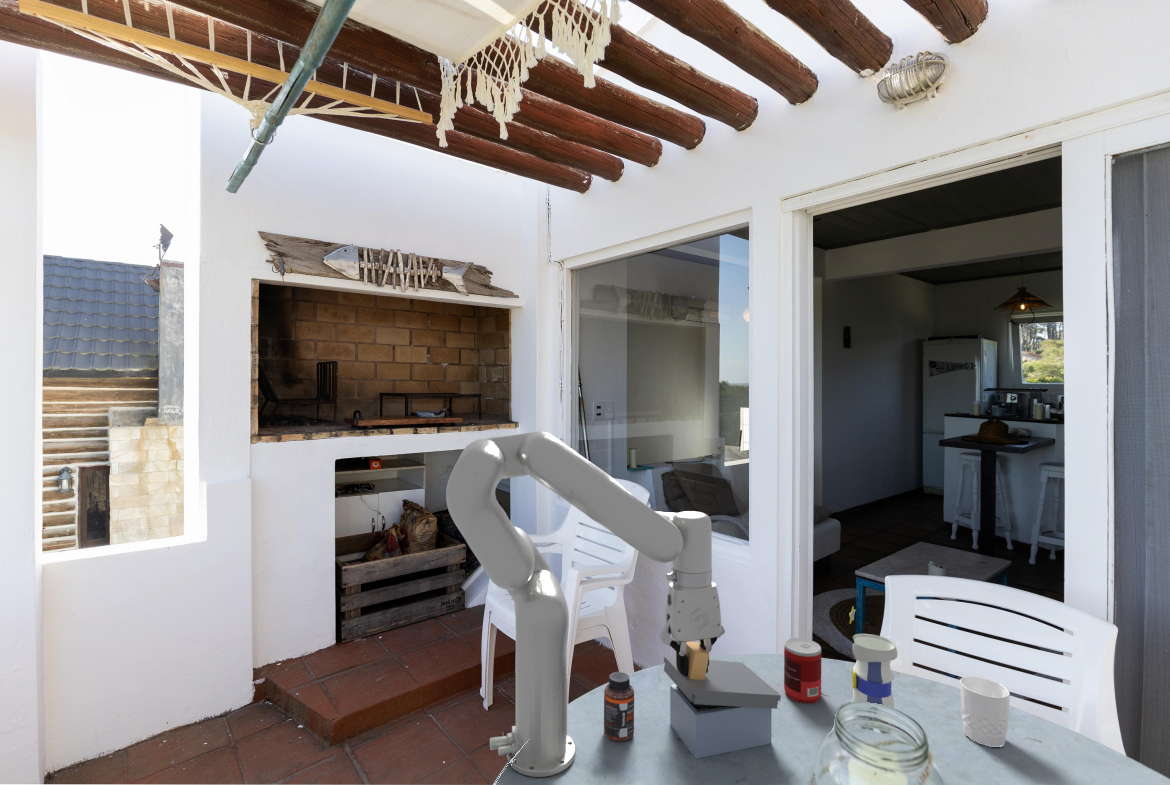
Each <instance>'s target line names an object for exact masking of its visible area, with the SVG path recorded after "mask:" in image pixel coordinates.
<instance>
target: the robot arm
mask: <svg viewBox="0 0 1170 785" xmlns="http://www.w3.org/2000/svg"><path fill="white" fill-rule="evenodd" d="M525 476H530V478H532V479H534V480H535V481H537V482H538V483H540V484H541V485H542V486H544V487H546V488H547V489H549V491H552V492H553V493H555V494H556V495H558V496H559V497H560V498H562V499H564V500H565V501H566V502H568V503H569V504H570V505H572V506H573V507H574V508H576V509H578V510H579V511H580V512H581V513H582V514H585V515H586V516H587V517H588V518H589V519H591V520H592V521H594V522H595V523H597V524H599V525H601V526H602V527H604V528H605V529H606V530H609V531H610V532H611V533H612V534H614V535H615V536H616V537H617V538H619V539H620V540H622V541H623V542H625V543H626V544H627V545H629V546H630V547H632V548H633V549H634V550H636V551H637V552H639V553H641V554H642V555H644V556H645V557H647V558H648V559H650V560H651V561H653V562H655V563H660V564H665V563H666V564H667V563H670V562H672V564H671V566H672V567H671V572H669V573H666V575H665V578H666V580H667V581H668V582H669V581H671V582H670V583H669V586H668V590H667V595H666V602H665V604H666V606H665V614H664V615H665V619H664V620H665V622H664V623H665V624H664V626H663V629H662V631H661V633H660V635H659V636H658V637H659V638H658V639H659V640H660V642H662V644H665V645H666V646H669V647H671V648H672V649H673V650H674V651H675V657H676V666H677V669H678V670H680V671H681V672H682V673H683V674H684V676H688V655H687V654H686V644H687V642H696V641H698V644H699V646H700V647H701V648H702V649H703V650H706V651H707V652H708V653H709V654H710V652H712V648H713V647H714V645H715V643H716V642H717V641H718V639H719V638H721V637H722V636H723V635H724V634H725V632H726V630H725V628H724V627H723V625H722V613H721V612H722V611H721V603H720V598H719V597H720V596H719V593H718V586H717V584H716V583H715V582H714V581H713V579H712V578H713V572H712V571H713V566H712V564H713V555H712V553H713V552H712V550H713V548H712V547H713V546H712V545H713V544H712V540H713V539H712V537H713V536H712V519H711V517H710V516H709V515H708V513H707V514H706V513H704V512H701V511H695V510H692V511H691V510H686V511H685V510H684V511H680V512H665V511H656V510H654V509H652V508H651V507H649V506H648V505H647V504H645V503H644V502H642V500H640V499H638V498H637V497H636V496H635V495H633V494H632V493H631V492H629V491H628V490H627V489H626V488H624V486H622V485H621V484H620V483H619V482H618V481H617V480H616V479H615V478H614V477H612V476H611V475H609V474H608V473H607V472H605V470H602V469H601V468H600V467H599V466H597V465H595V464H594V463H593V462H592V461H590V460H588V459H587V458H585V457H584V456H582V455H581V454H579V453H578V452H577V451H576V450H574V449H573V448H571V447H569V446H568V445H567V444H565V443H564V442H563V441H561V440H560V439H558V438H557V437H555V436H554V435H552V434H551V433H549V432H546V431H543V430H541V431H539V430H538V431H532V432H526V433H520V434H519V433H518V434H512V435H503V436H496V437H487V438H480V439H476V440H474V441H471V442H470V443H469V444H467V445H466V446H465V447H464V448H463V450H462V452H461V453H460V455H459V458H458V459H457V461H456V462H455V464H454V467H453V468H452V471H451V472H450V475H449V478H448V481H447V484H446V492H445V500H446V505H447V506H446V508H447V509H448V512H449V515H450V517H451V519H452V520H453V523H454V525H455V526H456V527H457V529H458V530H459V533H461V535H462V537H463V538H464V540H465V542H466V543H467V545H468V546H469V548H470V550H471V551H472V553H473V554H474V556H475V557H476V559H477V561H478V562H479V564H480V565H481V567H482V568H483V570H484V571H485V573H486V575H487V577H488V578H489V580H490V581H491V583H492V584H494V585H495V586H496V587H498V588H501V589H502V590H506V591H507V592H508V595H509V596H511V599H512V600H513V602H514V615H515V658H514V659H515V660H514V661H515V669H514V670H515V725H512V726H511V732H508V733H506V735H503V736H494V737H490V738H489V748H490V750H491V751H493V750H497V752H498V756H499V757H501V756H505V755H506V758H507V763H508V764H509V762H510V760H511V759H512V758H513V757H514V756H515V754H516V753H517V752H518V751H519V750H520V749H521V748H522V746H523V745H524V744H525V743H526V742H527V741H528V742H527V743H526V744H525V745H524V746H523V748H522V749H521V750H520V752H519V753H518V754H517V755H516V757H515V758H514V759H516V760H515V761H514V759H513V761H514V762H513V763H512V762H511V763H510V764H512V766H510V767H511V768H512V769H513V770H515V771H516V772H517V771H518V772H517V773H519V774H521V775H525V776H528V777H532V778H543V777H545V778H546V777H550V776H554V775H557V774H559V773H561V772H563V771H564V770H566V769H567V768H569V767H570V766H571V764H572V763H573V761H574V760H575V757H576V745H575V742H574V741H573V739H572V738H571V737H570V736H569V735H568V639H569V631H570V630H569V628H570V613H569V607H568V603H567V600H566V599H567V598H566V596H565V595H564V592H563V590H562V587H561V584H560V582H559V580H558V578H557V576H556V575H555V573H554V572H553V570H552V568H550V566H549V564H548V563H547V561H546V560H545V558H544V557H543V554H541V552H540V551H539V549H538V547H537V546H536V545H535V543H534V542H533V540H532V539H531V537H530V536H529V535H528V533H527V532H526V531H524V530H523V529H522V528H520V527H518V526H515V525H514V524H513V523H512V521H511V519H509V517H508V515H507V513H506V512H505V510H504V508H503V507H502V506H501V504H500V503H499V502H498V500H497V496H496V490H497V487H498V485H499V483H500V482H501V480H503V479H504V480H505V479H511V478H518V477H525ZM671 636H672V638H671ZM709 660H710V658H709V659H708V664H707V669H706V673H708V666H709ZM529 739H530V740H529ZM510 764H509V765H510Z"/></svg>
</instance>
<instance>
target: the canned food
mask: <svg viewBox="0 0 1170 785" xmlns="http://www.w3.org/2000/svg"><path fill="white" fill-rule="evenodd" d="M783 646H784V647H783V648H784V650H783V652H784V653H783V654H784V656H783V678H784V679H783V687H784V688H783V689H784V692H785V695H786V697H788V698H789V699H790V700H792V701H794V702H797V703H801V704H814V703H817V702H819V701H820V699H821V697H822V696H821V695H822V647H821V645H820V644H819V643H817V642H816V641H814V640H810V639H808V638H803V637H794V638H788V639H786V640H785V641H784V644H783Z"/></svg>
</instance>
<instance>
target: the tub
mask: <svg viewBox="0 0 1170 785" xmlns="http://www.w3.org/2000/svg"><path fill="white" fill-rule="evenodd" d="M669 691H670V694H669V695H670V700H669V701H670V705H669V706H670V707H669V711H670V713H669V715H670V716H669V717H670V718H669V721H670V722H669V723H670V724H669V725H670V726H671V727H672V729H673V730H674V731H675V732H676V734H677V735H678V737H679V739H681V741H682V742H683V743H684V745H685V746H686V748H687V750H689V752H690V753H691V754H692V756H693V757H694V758H695V760H696V759H697V760H698V759H702V758H706V757H711V756H717V755H721V754H726V753H730V752H737V751H741V750H745V749H747V750H748V749H750V748H756V747H760V746H765V745H771V744H772V709H773V708H756V707H738V706H720V705H702V704H694V703H693V702H691V701H690V700H689V699H688V698H687V697H686V695H685V694H684V693H683V692H682V691H681V690H680V689H679V687H678V686H677V685H676V684H675V683H673V684H670V690H669Z"/></svg>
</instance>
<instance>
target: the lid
mask: <svg viewBox="0 0 1170 785" xmlns="http://www.w3.org/2000/svg"><path fill="white" fill-rule="evenodd" d="M699 645H700V644H699V642H697V641H689V642H687V644H686V654H687V655H688V676H684V674H683V673H682V672H681V671H680V670H678V669H677V666H676V656H663V663H664V667H663V671H664V672H665V674H666V675H667V676H668V677H669V678H670V679H671V681H672V682H674V683H673V684H676V685H677V686H678V687H679V689H680V690H681V691H682V692H683V693H684V694H685V695H686V697H687V698H688V699H689V700H690V701H691V702H693V703H694V704H702V705H720V706H738V707H756V708H772V709H773V710H774V709H776V710H777V709H778V703H779V701H781V698H782V695H781V694H780V693H778V691H777V690H775V689H774V688H773V687H772V686H770V684H768V682H766V681H764V680H763V679H762V678H761V677H760V676H758V675H757V674H756V673H755V672H754V671H753V670H751V669H750V668H749V667H748V666H747V665H746V664H744V663H743V662H740V661H739V662H738V661H729V660H715V659H713V660H712V659H710V652H709V653H708V652H707V651H706V650H703V649H702V648H701V647H700V646H699ZM708 659H709V666H708V673H706V669H707V664H708Z"/></svg>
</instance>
